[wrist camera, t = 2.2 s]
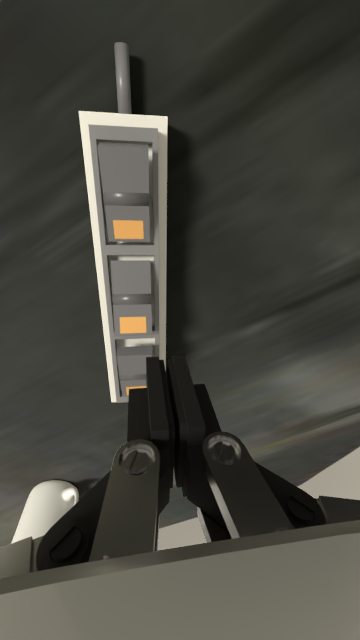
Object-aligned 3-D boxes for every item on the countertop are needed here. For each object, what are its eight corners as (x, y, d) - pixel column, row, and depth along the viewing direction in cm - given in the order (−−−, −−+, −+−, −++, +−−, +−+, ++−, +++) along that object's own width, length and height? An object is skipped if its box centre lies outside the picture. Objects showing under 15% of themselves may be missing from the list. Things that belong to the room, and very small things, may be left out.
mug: (102, 481, 50) (92, 551, 41) (60, 511, 53) (41, 583, 43) (63, 461, 47) (42, 533, 37) (20, 495, 49) (-9, 570, 40)
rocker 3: (152, 344, 32) (152, 356, 31) (152, 385, 37) (152, 396, 36) (117, 345, 31) (116, 357, 30) (123, 386, 37) (122, 398, 35)
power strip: (165, 55, 24) (169, 31, 21) (164, 385, 41) (166, 405, 38) (78, 47, 23) (65, 21, 20) (113, 387, 41) (110, 409, 37)
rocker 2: (150, 260, 29) (150, 260, 28) (151, 331, 31) (152, 335, 29) (112, 260, 29) (110, 260, 27) (116, 332, 31) (114, 336, 29)
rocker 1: (147, 144, 23) (148, 148, 22) (149, 235, 28) (149, 242, 27) (99, 142, 22) (96, 145, 21) (110, 234, 28) (108, 242, 26)
